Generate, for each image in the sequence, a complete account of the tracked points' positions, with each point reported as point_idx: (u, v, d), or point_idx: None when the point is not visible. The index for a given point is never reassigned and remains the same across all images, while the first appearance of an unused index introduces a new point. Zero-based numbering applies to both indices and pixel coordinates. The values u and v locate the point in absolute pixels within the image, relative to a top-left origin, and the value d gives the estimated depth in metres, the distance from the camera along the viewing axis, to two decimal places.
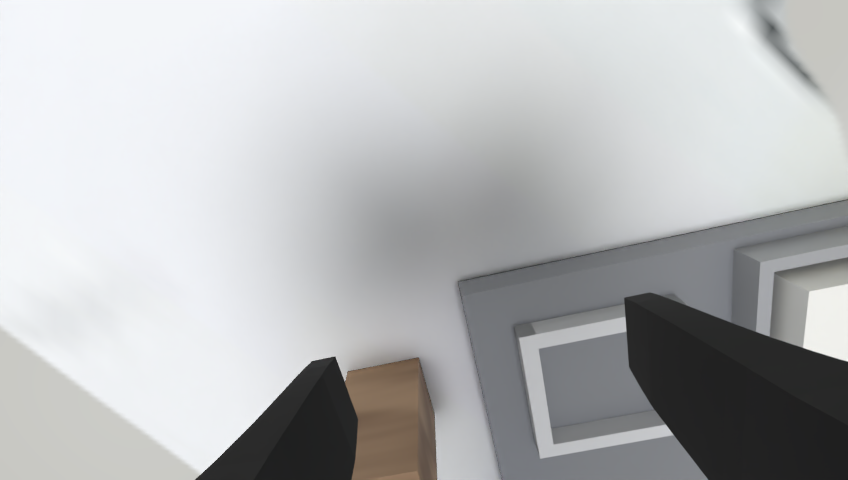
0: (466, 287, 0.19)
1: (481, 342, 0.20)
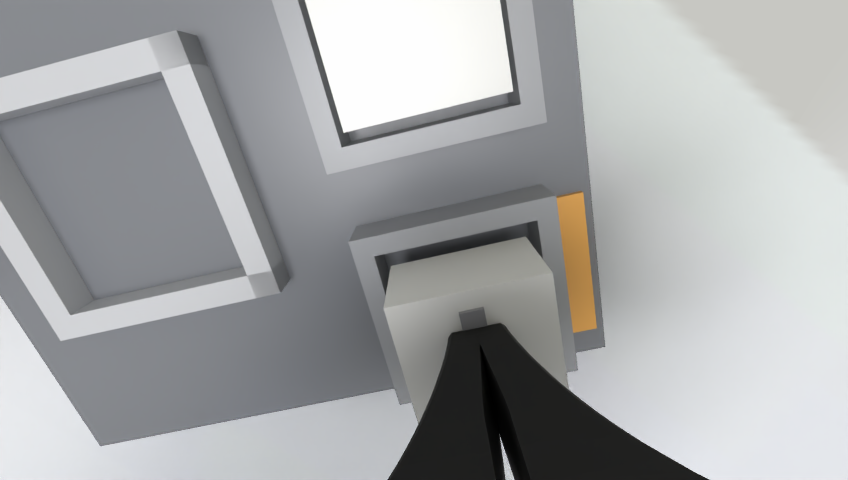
0: None
1: None
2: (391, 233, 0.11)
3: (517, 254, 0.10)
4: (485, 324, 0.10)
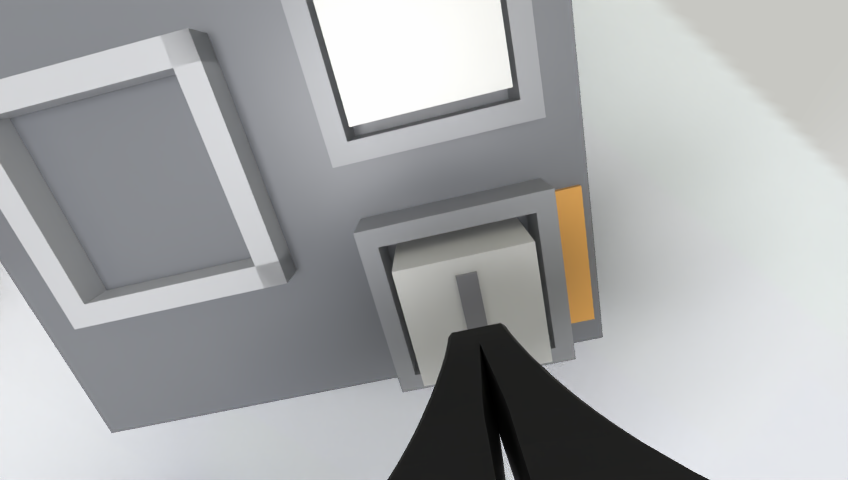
0: None
1: None
2: (395, 225, 0.12)
3: (506, 228, 0.12)
4: (478, 286, 0.11)
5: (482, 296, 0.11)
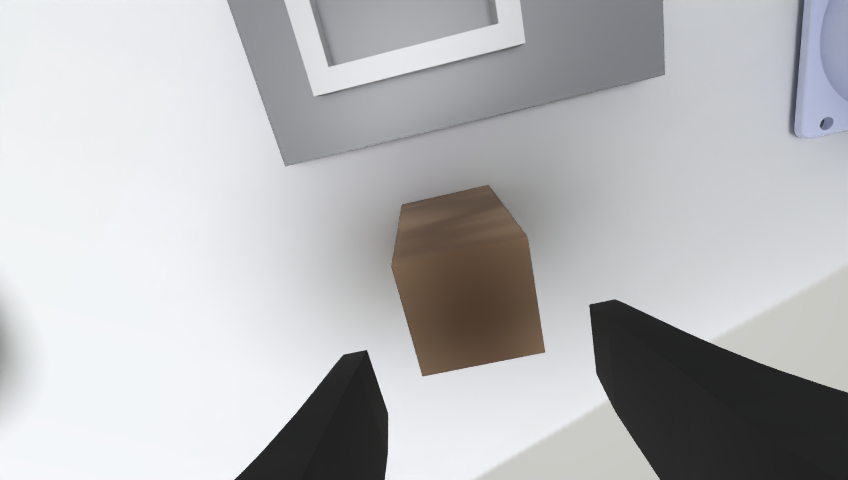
0: None
1: (347, 138, 0.16)
2: None
3: None
4: None
5: None
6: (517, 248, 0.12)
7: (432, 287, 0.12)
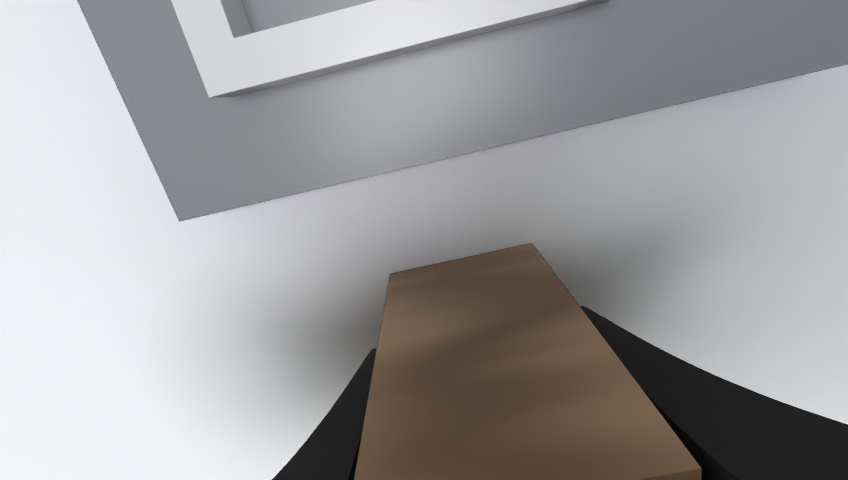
0: None
1: (287, 172, 0.09)
2: None
3: None
4: None
5: None
6: None
7: None
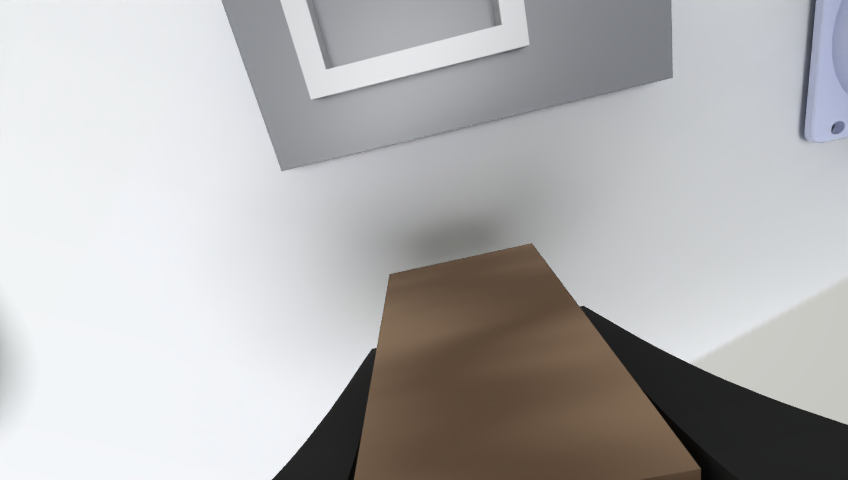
0: None
1: (345, 142, 0.15)
2: None
3: None
4: None
5: None
6: None
7: None
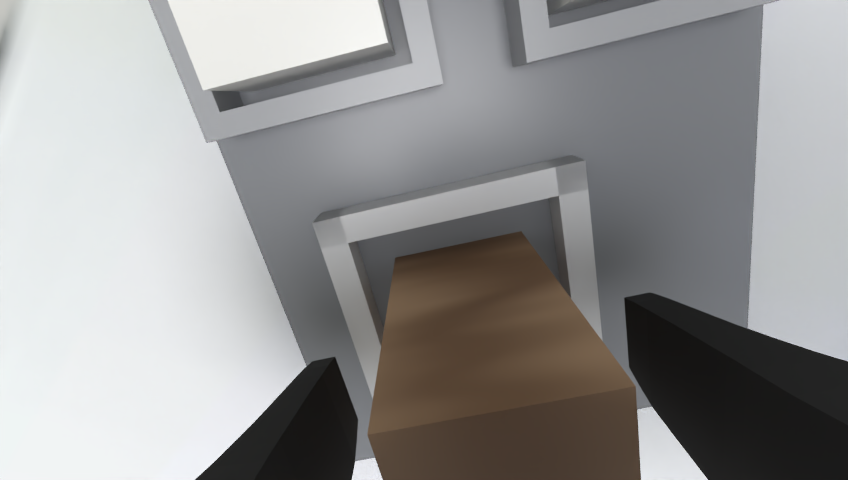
0: None
1: None
2: (520, 1, 0.09)
3: None
4: None
5: None
6: (614, 405, 0.06)
7: (445, 469, 0.06)
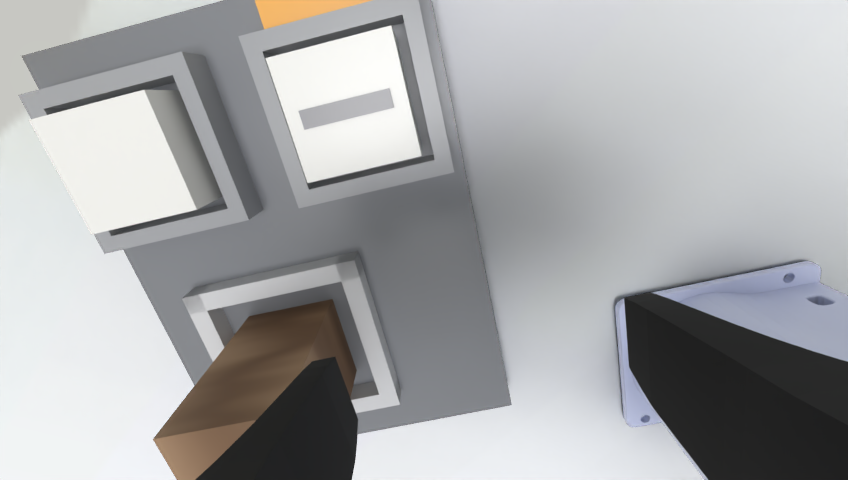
0: None
1: None
2: (288, 175, 0.15)
3: None
4: (311, 108, 0.13)
5: (323, 103, 0.13)
6: None
7: (197, 457, 0.12)
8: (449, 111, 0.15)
